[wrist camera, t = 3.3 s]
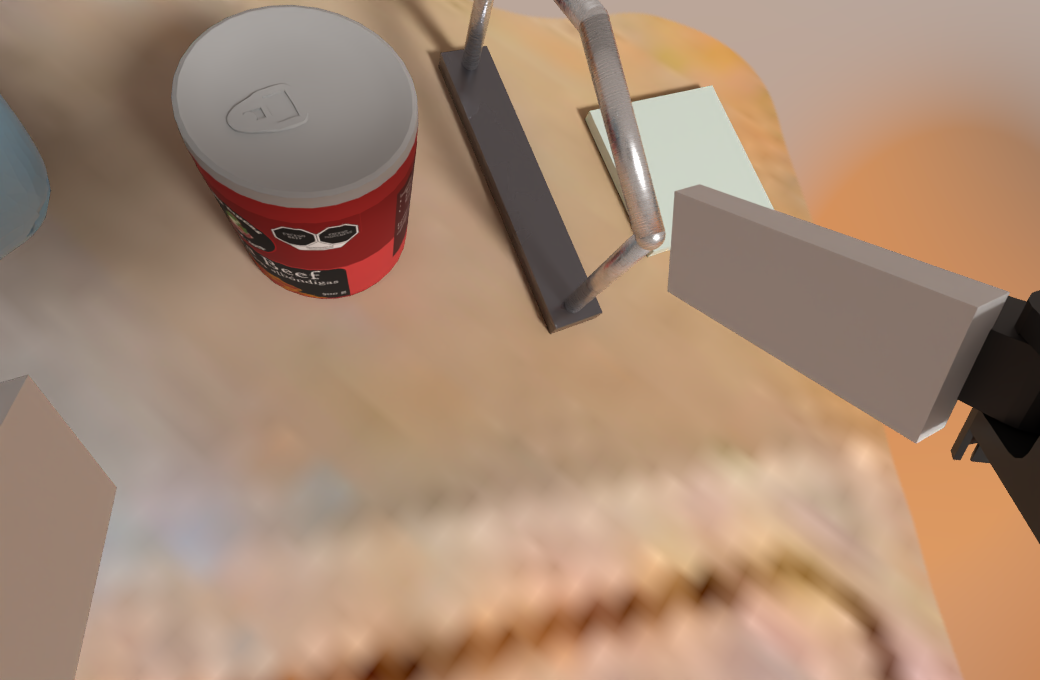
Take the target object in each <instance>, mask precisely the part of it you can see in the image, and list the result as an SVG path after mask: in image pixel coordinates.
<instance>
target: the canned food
mask: <svg viewBox="0 0 1040 680" xmlns="http://www.w3.org/2000/svg"><path fill="white" fill-rule="evenodd" d="M171 99H172V106H173V112H174V118H175V120H176V122H177V125H178V129H179V131H180V134H181V136H182V138H183V140H184V143H185V145H186V147H187V149H188V151H189V153H190V154H191V156H192V158H193V159H194V161H195V163H196V166H197V168H198V169H199V171H200V173H201V174H202V176H203V178H204V179H205V181H206V183H207V184H208V186H209V188H210V189H211V191H212V193H213V194H214V196H215V197H216V199H217V201H218V202H219V204H220V206H221V207H222V209H223V211H224V212H225V214H226V216H227V217H228V219H229V221H230V222H231V224H232V226H233V227H234V229H235V231H236V232H237V234H238V236H239V237H240V239H241V241H242V242H243V244H244V246H245V247H246V249H247V251H248V252H249V254H250V256H251V257H252V259H253V260H254V262H255V263H256V264H257V266H258V267H259V269H260V270H261V271H262V272H263V273H264V274H265V275H266V276H267V277H268V278H269V279H271V280H272V281H273V282H274V283H276V284H278V285H279V286H281V287H283V288H285V289H286V290H289V291H291V292H294V293H297V294H300V295H303V296H308V297H314V298H320V299H331V298H341V297H346V296H351V295H354V294H356V293H359V292H362V291H364V290H366V289H367V288H369V287H371V286H372V285H374V284H376V283H377V282H379V281H380V280H381V279H382V278H383V277H384V276H385V275H386V274H387V273H389V272H390V270H391V269H392V268H393V266H394V265H395V264H396V262H397V261H398V259H399V257H400V255H401V252H402V250H403V248H404V243H405V239H406V232H407V224H408V215H409V207H410V198H411V190H412V181H413V172H414V164H415V155H416V147H417V132H418V106H417V95H416V91H415V87H414V84H413V80H412V78H411V76H410V74H409V72H408V70H407V68H406V66H405V64H404V62H403V61H402V60H401V58H400V57H399V56H398V55H397V53H396V52H395V51H394V49H393V48H392V47H391V46H390V45H389V44H387V43H386V42H385V41H384V40H383V39H382V38H381V37H380V36H379V35H377V34H376V33H374V32H373V31H371V30H370V29H368V28H367V27H365V26H363V25H362V24H360V23H359V22H356V21H354V20H352V19H349V18H347V17H345V16H343V15H340V14H338V13H334V12H330V11H327V10H323V9H319V8H314V7H306V6H297V5H279V6H267V7H261V8H256V9H250V10H246V11H244V12H241V13H238V14H235V15H232V16H230V17H227V18H225V19H223V20H222V21H220V22H218V23H217V24H215V25H213V26H211V27H210V28H208V29H207V30H206V31H205V32H204V33H202V34H201V35H200V36H199V37H198V38H197V39H196V40H195V41H193V42H192V44H191V45H190V46H189V48H188V49H187V51H186V52H185V53H184V55H183V56H182V58H181V59H180V62H179V64H178V67H177V69H176V72H175V75H174V77H173V85H172V95H171Z"/></svg>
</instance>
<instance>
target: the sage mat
mask: <svg viewBox="0 0 1040 680" xmlns="http://www.w3.org/2000/svg"><path fill="white" fill-rule="evenodd" d="M632 106H633V110H634V114H635V117H636V121H637V125H638V129H639V133H640V136H641V140H642V144H643V148H644V152H645V155H646V159H647V163H648V167H649V171H650V174H651V178H652V182H653V186H654V190H655V194H656V197H657V201H658V205H659V209H660V213H661V216H662V220H663V224H664V228H665V232H666V237H665V240H664V242H663V244H662V245H661V246H660V247H659V248H657V249H655V250H651V251H650V252H649V253H648V254H647V257H649V256H652V255H655V254H658V253H661V252H665V251H668V250H670V249H671V235H672V221H673V206H674V192H675V191H677V190H681V189H684V188H688V187H691V186H695V185H698V184H701V185H704V186H706V187H709V188H712V189H715V190H718V191H721V192H724V193H727V194H729V195H732V196H735V197H738V198H741V199H744V200H747V201H749V202H752V203H755V204H758V205H761V206H764V207H767V208H770V209H772V210H774V208H773V206H772V204H771V202H770V200H769V198H768V196H767V194H766V192H765V190H764V188H763V186H762V184H761V182H760V180H759V178H758V176H757V174H756V172H755V170H754V168H753V166H752V164H751V162H750V160H749V158H748V156H747V154H746V152H745V150H744V148H743V146H742V144H741V142H740V140H739V138H738V136H737V134H736V132H735V130H734V128H733V126H732V124H731V122H730V120H729V118H728V116H727V114H726V112H725V110H724V108H723V106H722V104H721V102H720V100H719V98H718V96H717V94H716V92H715V90H714V88H713V86H707V87H702V88H697V89H693V90H688V91H683V92H678V93H673V94H669V95H664V96H659V97H654V98H649V99H644V100H640V101H635V102H632ZM585 120H586V122H587V125H588V127H589V129H590V131H591V133H592V136H593V138H594V140H595V142H596V144H597V147H598V149H599V151H600V153H601V155H602V158H603V160H604V162H605V164H606V166H607V169H608V171H609V173H610V175H611V177H612V180H613V182H614V184H615V186H616V188H617V191H618V193H619V195H620V197H621V199H622V202H623V204H624V206H625V208H626V210H627V207H626V203H625V199H624V196H623V192H622V188H621V185H620V181H619V177H618V174H617V170H616V166H615V162H614V159H613V155H612V151H611V148H610V144H609V140H608V137H607V133H606V129H605V126H604V122H603V118H602V114H601V111H600V109H596V110H592V111H589V113H588V114H587V116H586V118H585ZM627 213H628V211H627ZM628 215H629V214H628Z"/></svg>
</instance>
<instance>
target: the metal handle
mask: <svg viewBox="0 0 1040 680" xmlns="http://www.w3.org/2000/svg"><path fill="white" fill-rule="evenodd" d="M493 1H494V0H474V2H473V7H472V12H471V17H470V22H469V27H468V32H467V37H466V42H465V47H464V49H463V50H457V51H450V52H443V53H441V54H440V61H439V68H440V71H441V73H442V75H443V78H444V80H445V83H446V85H447V87H448V90H449V92H450V95H451V97H452V99H453V102H454V104H455V107H456V109H457V111H458V114H459V116H460V119H461V121H462V123H463V126H464V128H465V131H466V133H467V135H468V138H469V140H470V143H471V145H472V147H473V150H474V152H475V155H476V157H477V159H478V162H479V164H480V167H481V169H482V171H483V174H484V176H485V179H486V181H487V183H488V186H489V188H490V191H491V193H492V195H493V198H494V200H495V203H496V205H497V207H498V210H499V212H500V215H501V217H502V219H503V222H504V224H505V227H506V229H507V231H508V234H509V236H510V239H511V241H512V243H513V246H514V248H515V251H516V253H517V255H518V258H519V260H520V263H521V265H522V268H523V270H524V272H525V275H526V277H527V280H528V282H529V284H530V287H531V289H532V292H533V294H534V296H535V299H536V301H537V304H538V306H539V308H540V311H541V313H542V316H543V318H544V320H545V323H546V325H547V328H548V330H549V332H550V334H552V333H555V332H557V331H560V330H563V329H566V328H569V327H571V326H574V325H577V324H580V323H583V322H586V321H588V320H591V319H594V318H596V317H597V316H599V315H600V314H601V313H602V310H601V308H600V306H599V303H598V301H597V299H596V296H597V295H599V294H600V293H601V292H602V291H603V290H605V289H606V288H607V287H608V286H609V285H611V284H612V283H613V282H614V281H615V280H617V279H618V278H619V277H620V276H621V275H623V274H624V273H625V272H626V271H627V270H629V269H630V268H631V267H632V266H633V265H635V264H636V263H637V262H638V261H639V260H641V259H642V258H643V257H644V256H645V255H647V254H648V253H649V252H650V251H651V250H655V249H657V248H659V247H660V246H661V245H662V244H663V242H664V240H665V237H666V232H665V228H664V224H663V220H662V216H661V213H660V209H659V205H658V201H657V197H656V194H655V190H654V186H653V182H652V178H651V174H650V171H649V167H648V163H647V159H646V155H645V152H644V148H643V144H642V140H641V136H640V133H639V129H638V125H637V121H636V117H635V114H634V110H633V106H632V102H631V98H630V94H629V91H628V87H627V83H626V79H625V75H624V72H623V68H622V64H621V60H620V56H619V53H618V49H617V45H616V41H615V37H614V34H613V30H612V26H611V22H610V18H609V15H608V12H607V10H606V9H605V8H604V7H603V5H602V4H601V3H600V2H599V1H598V0H554V2H555V3H556V4H557V5H558V6H559V8H560V9H561V10H562V11H563V13H564V14H565V15H566V16H567V18H568V19H569V20H570V21H571V23H572V24H573V25H574V26H575V28H576V29H577V30H578V31H579V33H580V37H581V40H582V44H583V48H584V52H585V55H586V59H587V63H588V66H589V70H590V74H591V77H592V81H593V85H594V89H595V92H596V96H597V100H598V103H599V107H600V111H601V114H602V118H603V122H604V126H605V129H606V133H607V137H608V140H609V144H610V148H611V151H612V155H613V159H614V162H615V166H616V170H617V174H618V177H619V181H620V185H621V188H622V192H623V196H624V199H625V203H626V207H627V211H628V214H629V218H630V222H631V225H632V229H633V233H634V234H633V235H632V236H631V237H630V238H629V239H628V240H627V241H626V242H625V243H623V244H622V245H621V246H620V247H619V248H618V249H617V250H616V251H615V252H614V253H613V254H612V255H611V256H610V257H609V258H608V259H607V260H606V261H605V262H604V263H603V264H602V265H601V266H599V267H598V268H597V269H596V270H595V271H594V272H593V273H592V274H591V275H590V276H589V277H588V278H587V276H586V273H585V271H584V269H583V267H582V264H581V262H580V260H579V257H578V255H577V253H576V250H575V248H574V246H573V244H572V241H571V239H570V237H569V234H568V232H567V230H566V227H565V225H564V223H563V221H562V218H561V216H560V214H559V211H558V209H557V207H556V204H555V202H554V200H553V198H552V195H551V193H550V191H549V188H548V186H547V184H546V181H545V179H544V177H543V175H542V172H541V170H540V168H539V165H538V163H537V161H536V158H535V156H534V154H533V151H532V149H531V147H530V145H529V142H528V140H527V138H526V135H525V133H524V131H523V128H522V126H521V124H520V122H519V119H518V117H517V115H516V112H515V110H514V108H513V105H512V103H511V101H510V99H509V96H508V94H507V92H506V89H505V87H504V85H503V82H502V80H501V78H500V76H499V73H498V71H497V69H496V66H495V64H494V62H493V59H492V57H491V55H490V52H489V50H488V48H487V46H483V43H484V39H485V35H486V31H487V27H488V22H489V18H490V14H491V10H492V6H493Z"/></svg>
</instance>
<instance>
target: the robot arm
mask: <svg viewBox="0 0 1040 680" xmlns="http://www.w3.org/2000/svg"><path fill="white" fill-rule="evenodd" d="M50 191H51V190H50V183H49V180H48V176H47V171H46V167H45V164H44V161H43V159H42V157H41V155H40V153H39V151H38V149H37V147H36V146H35V144H34V142H33V141H32V139H31V137H30V136H29V134H28V133H27V131H26V130H25V128H24V126H23V125H22V123H21V122H20V120H19V119H18V117H17V116H16V115H15V113H14V112H13V111H12V109H11V108H10V106H9V105H8V104H7V102H6V101H5V100H4V98H3V97H2V96H1V94H0V259H2V258H3V257H4V256H6V255H7V254H9V253H10V252H12V251H13V250H14V249H16V248H17V247H19V246H20V245H22V244H23V243H24V242H26V241H27V240H28V239H29V238H31V237H32V235H33V234H34V233H35V232H36V231H37V230H38V228H39V227H40V226H41V225H42V223H43V221H44V219H45V217H46V213H47V208H48V203H49V197H50ZM668 292H670V293H671V294H673V295H675V296H676V297H678V298H679V299H681V300H683V301H684V302H686V303H688V304H689V305H691V306H692V307H694V308H696V309H697V310H699V311H701V312H702V313H704V314H706V315H707V316H709V317H710V318H712V319H714V320H715V321H717V322H719V323H720V324H722V325H723V326H725V327H727V328H728V329H730V330H732V331H733V332H735V333H736V334H738V335H740V336H741V337H743V338H745V339H746V340H748V341H750V342H751V343H753V344H754V345H756V346H758V347H759V348H761V349H763V350H764V351H766V352H767V353H769V354H771V355H772V356H774V357H776V358H777V359H779V360H781V361H782V362H784V363H785V364H787V365H789V366H790V367H792V368H794V369H795V370H797V371H798V372H800V373H802V374H803V375H805V376H807V377H808V378H810V379H812V380H813V381H815V382H816V383H818V384H820V385H821V386H823V387H825V388H826V389H828V390H829V391H831V392H833V393H834V394H836V395H838V396H839V397H841V398H842V399H844V400H846V401H847V402H849V403H851V404H852V405H854V406H856V407H857V408H859V409H860V410H862V411H864V412H865V413H867V414H869V415H870V416H872V417H873V418H875V419H877V420H878V421H880V422H882V423H883V424H885V425H887V426H888V427H890V428H891V429H893V430H895V431H896V432H898V433H900V434H901V435H903V436H904V437H906V438H908V439H909V440H911V441H913V442H914V443H918V442H920V441H921V440H923V439H925V438H926V437H928V436H930V435H932V434H933V433H935V432H937V431H939V430H941V429H942V428H944V427H945V425H946V423H947V420H948V419H949V417H950V414H951V413H952V410H953V408H954V406H955V404H956V402H957V400H960V401H962V402H964V403H965V404H967V405H970V406H971V407H973V408H972V410H971V412H970V414H969V416H968V418H967V420H966V422H965V424H964V426H963V428H962V429H961V432H960V433H959V435H958V437H957V439H956V441H955V443H954V445H953V447H952V449H951V453H952V457H953V459H954V460H961V458H962V456H963V454H964V452H965V450H966V448H967V447H968V445H969V444H974V443H978V444H977V446H976V447H975V449H974V451H973V453H972V456H971V459H970V460H971V461H973V462H974V461H975V462H983V463H990V464H991V465H992V467H993V468H994V470H995V472H996V473H997V475H998V476H999V478H1000V480H1001V481H1002V483H1003V485H1004V486H1005V488H1006V490H1007V491H1008V493H1009V495H1010V496H1011V498H1012V499H1013V501H1014V502H1015V504H1016V506H1017V508H1018V509H1019V511H1020V512H1021V514H1022V516H1023V517H1024V519H1025V521H1026V522H1027V524H1028V526H1029V527H1030V529H1031V530H1032V532H1033V534H1034V535H1035V537H1036V539H1037V540H1038V542H1039V544H1040V290H1039V291H1036V292H1034V293H1032V294H1031V295H1030V297H1029V299H1028V300H1027V302H1026V301H1023V300H1020V299H1016V298H1013V297H1010V296H1008V295H1009V292H1008V291H1005V290H1002V289H999V288H996V287H993V286H990V285H987V284H985V283H982V282H979V281H976V280H973V279H970V278H968V277H965V276H962V275H959V274H956V273H953V272H950V271H947V270H944V269H942V268H939V267H936V266H933V265H930V264H927V263H924V262H922V261H918V260H916V259H913V258H910V257H907V256H904V255H901V254H898V253H896V252H893V251H890V250H887V249H884V248H881V247H879V246H875V245H873V244H870V243H867V242H864V241H861V240H858V239H856V238H853V237H850V236H847V235H844V234H841V233H838V232H836V231H833V230H830V229H827V228H824V227H821V226H818V225H815V224H813V223H810V222H807V221H804V220H801V219H798V218H795V217H793V216H790V215H787V214H784V213H781V212H778V211H775V210H772V209H770V208H767V207H764V206H761V205H758V204H755V203H752V202H749V201H747V200H744V199H741V198H738V197H735V196H732V195H729V194H727V193H724V192H721V191H718V190H715V189H712V188H709V187H706V186H704V185H701V184H698V185H695V186H691V187H688V188H684V189H681V190H677V191H675V192H674V206H673V221H672V235H671V249H670V264H669V278H668ZM116 489H117V487H116V486H115V485H114V484H113V482H112V481H111V480H110V478H109V477H108V476H107V475H106V473H105V472H104V471H103V469H102V468H101V467H100V466H99V464H98V463H97V462H96V461H95V459H94V458H93V457H92V455H91V454H90V453H89V452H88V450H87V449H86V448H85V447H84V445H83V444H82V443H81V441H80V440H79V439H78V438H77V436H76V435H75V434H74V432H73V431H72V430H71V429H70V427H69V426H68V425H67V424H66V422H65V421H64V420H63V418H62V417H61V416H60V415H59V413H58V412H57V411H56V410H55V408H54V407H53V406H52V404H51V403H50V402H49V401H48V399H47V398H46V397H45V396H44V394H43V393H42V392H41V390H40V389H39V388H38V387H37V385H36V384H35V383H34V381H33V380H32V379H31V378H30V376H29V375H26V376H22V377H19V378H15V379H12V380H8V381H5V382H1V383H0V680H74V679H75V674H76V670H77V665H78V661H79V656H80V652H81V647H82V643H83V638H84V634H85V629H86V624H87V620H88V615H89V611H90V606H91V602H92V597H93V593H94V588H95V584H96V579H97V575H98V570H99V566H100V561H101V557H102V552H103V547H104V543H105V538H106V534H107V529H108V525H109V520H110V516H111V511H112V507H113V502H114V498H115V493H116Z"/></svg>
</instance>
